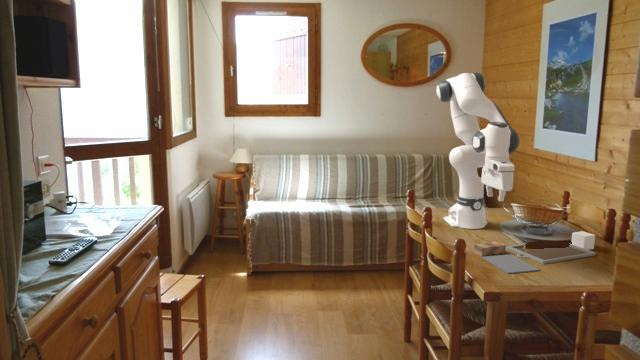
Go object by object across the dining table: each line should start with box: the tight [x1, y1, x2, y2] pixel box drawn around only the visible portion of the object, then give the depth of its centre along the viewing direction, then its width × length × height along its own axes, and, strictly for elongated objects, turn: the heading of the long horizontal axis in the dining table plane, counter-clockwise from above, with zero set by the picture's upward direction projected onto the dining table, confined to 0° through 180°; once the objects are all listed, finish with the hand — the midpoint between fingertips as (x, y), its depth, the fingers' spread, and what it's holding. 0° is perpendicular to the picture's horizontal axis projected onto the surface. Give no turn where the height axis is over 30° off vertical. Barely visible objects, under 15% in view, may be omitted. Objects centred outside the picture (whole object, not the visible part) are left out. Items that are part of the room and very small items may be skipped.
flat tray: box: [506, 243, 597, 265], centre depth 195 cm, size 19×2×30 cm
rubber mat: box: [481, 253, 541, 275], centre depth 181 cm, size 17×13×1 cm
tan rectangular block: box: [473, 241, 507, 257], centre depth 194 cm, size 11×5×4 cm, turn 108°
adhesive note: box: [570, 230, 596, 251], centre depth 200 cm, size 6×6×6 cm
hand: (495, 198), depth 191 cm, fingers open, 8 cm apart
